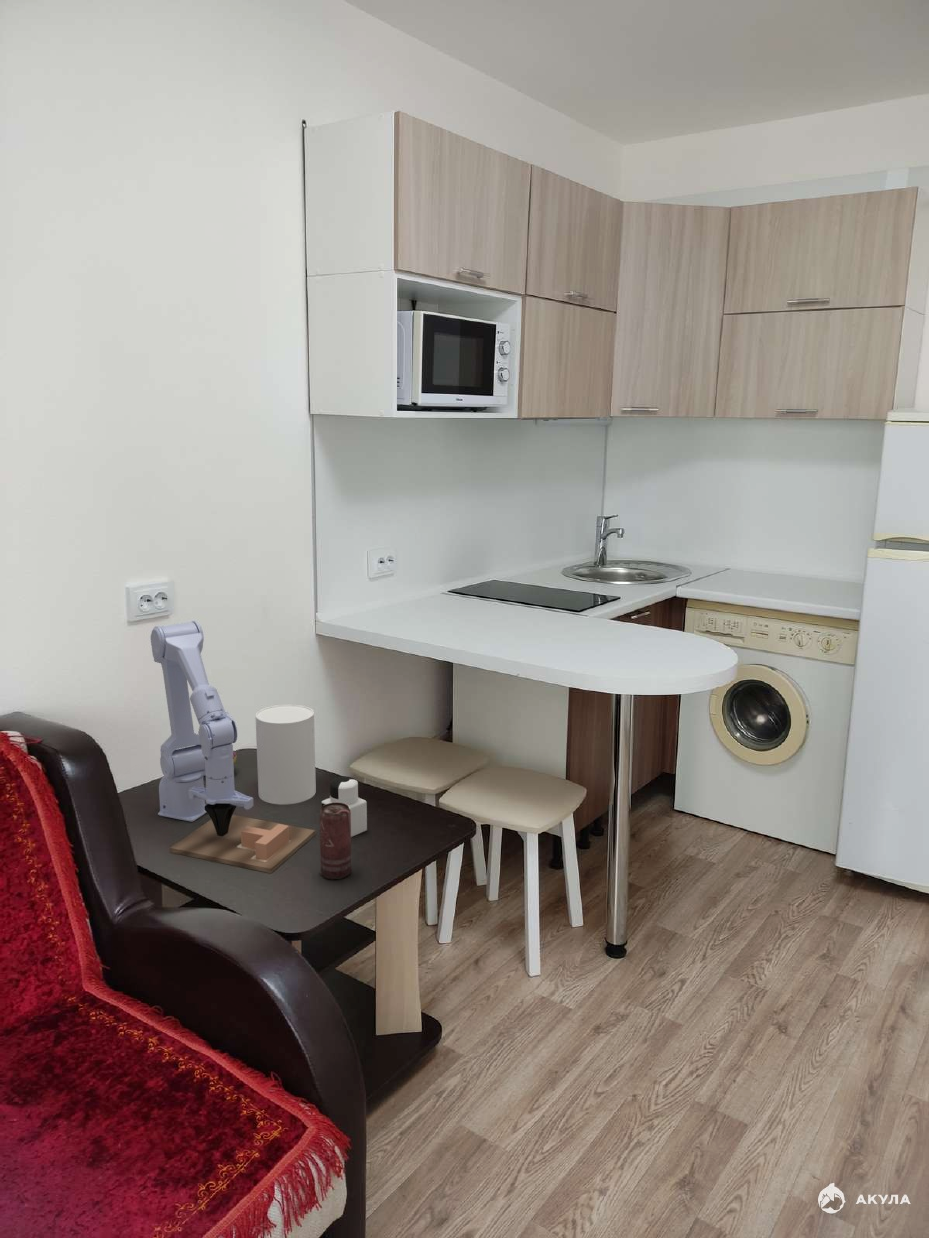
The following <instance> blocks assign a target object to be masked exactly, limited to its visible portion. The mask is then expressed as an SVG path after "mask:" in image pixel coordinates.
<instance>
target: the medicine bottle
mask: <svg viewBox="0 0 929 1238" xmlns="http://www.w3.org/2000/svg"><path fill="white" fill-rule="evenodd" d="M329 803H343V804H346V805H348V807H349V809H350V811H351V838H352V837H354V836H358V835H359V834H362V833H364V832H366V831H368V817H367V816H368V814H367V813H368V810H367V809H368V808H367V806H368V805H367V804H368V803H367V801H366V800H365V799H362V798H360V797H359V782H358V780H357V779H356V778H354V777H351V776H347V775H346V776H345V775H344V776H336V777H335V778H333V779H331V780H330V782H329V798H325V799H324V800H322V801H321V807H322V806H324V805H326V804H329Z"/></svg>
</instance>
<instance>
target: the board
mask: <svg viewBox="0 0 929 1238" xmlns="http://www.w3.org/2000/svg"><path fill="white" fill-rule="evenodd" d="M278 824H280V823H278V822H274V821H273V822H272V821H269V820H268V821H267V820H262V819H257V818H252V817H246V816H242V815H237V814H233V815H232V818H231V821H230V825H229V829H228V833H227V834H226V835H224V836H217V833H216V830H215V827H214V824H213V822H212V820H211V819H209V820H208V821H207V822H205V823H204V824H203V825H201V826H199V827H198V828H197V829H195V830H193V831H192V832H191V833H189V834H188V835H187V836H185V837H184V838H182V839H181V840H179V841H178V842H176V843H175V844H173V845H172V846H170V847H169V849H170V853H173V854H177V855H182V856H187V857H191V858H197V859H201V860H206V861H210V862H214V863H215V862H216V863H221V864H224V865H225V864H226V865H229V866H235V867H239V868H245V869H249V870H252V871H258V872H263V873H268V874H272V873H273V872H274V871H276V870H277V869H278V868H279V867H280V866H281V865H283V863H285V862H286V861H287V860H288V859H289V858H290V857H292V856H293V855H294V854H295V853H296V852H297V851H299V850H300V849H302V847H303V846H304V845H306V843H309V841H310V840H311V839H313V837H315V836H316V829H309V828H305V827H301V826H295V825H289V824H286V825H287V826H289V842H288V843H287V844H285V845H284V846H283V847H282V848H281V849H279V850H278V851H277V852H276V853H275V854H274V855H272V856H271V857H270V858H269V859H268V860H262V859H257V858H256V853H255V849H251V848H246V847H241V831H242V830H243V829H244V828H246V827H247V826H250V827H255V828H260V829H265V830H271V829H273V828H274V827H275V826H277V825H278ZM281 824H282V825H285V824H283V823H281Z"/></svg>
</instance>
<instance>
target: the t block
mask: <svg viewBox="0 0 929 1238" xmlns="http://www.w3.org/2000/svg"><path fill="white" fill-rule="evenodd" d="M282 824H283V823H279V824H278V825H277V826H275V827H274V828H273V829H271V830H265V829H260V828H255V827H250V826H247V827H246V828H244V829H243V830H242V831H241V847H246V848H251V849H255V853H256V858H257V859H262V860H268V859H269V858H270V857H271V856H272V855H274V854H275V853H276V852H277V851H278V850H279V849H281V848H282V847H283V846H284V845H285V844H287V843H288V842H289V826H287V825H288V824H284V825H282Z"/></svg>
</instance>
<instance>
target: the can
mask: <svg viewBox="0 0 929 1238" xmlns="http://www.w3.org/2000/svg"><path fill="white" fill-rule="evenodd" d="M319 847H320V848H319V851H320V852H319V853H320V855H319V856H320V859H319V860H320V874H321V875H322V877H324V878H325V879H327V880H333V879H337V880H342V879H344V877H345V878H346V876H347V877H348V876H349V875H350V874H351V872H352V837H351V811H350V809H349V807H348V805H346V804H343V803H329V804H326V805H324V806H322V805H321V808H320V811H319Z"/></svg>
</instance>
